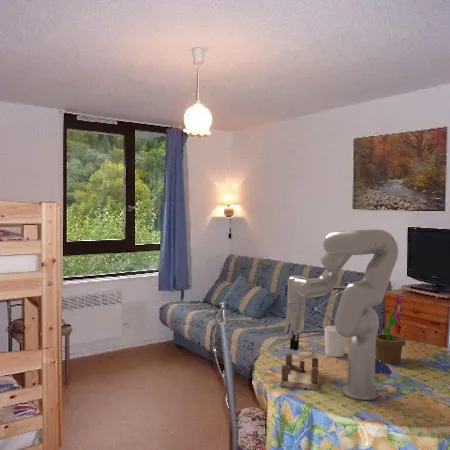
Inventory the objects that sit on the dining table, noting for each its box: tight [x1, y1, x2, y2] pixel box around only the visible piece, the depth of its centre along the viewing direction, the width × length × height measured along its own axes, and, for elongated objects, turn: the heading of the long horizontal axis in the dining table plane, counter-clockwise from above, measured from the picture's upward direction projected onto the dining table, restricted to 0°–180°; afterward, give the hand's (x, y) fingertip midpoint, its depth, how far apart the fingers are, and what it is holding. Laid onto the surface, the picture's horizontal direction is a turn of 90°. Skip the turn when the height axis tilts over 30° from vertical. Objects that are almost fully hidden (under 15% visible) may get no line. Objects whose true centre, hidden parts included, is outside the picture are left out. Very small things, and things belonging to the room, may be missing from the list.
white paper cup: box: [324, 325, 347, 358], centre depth 217 cm, size 10×10×12 cm
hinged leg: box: [285, 352, 306, 372], centre depth 190 cm, size 8×2×6 cm, turn 54°
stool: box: [279, 357, 320, 391], centre depth 183 cm, size 14×14×8 cm
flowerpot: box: [375, 294, 406, 365], centre depth 209 cm, size 14×14×30 cm
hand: (294, 349), depth 197 cm, fingers closed
